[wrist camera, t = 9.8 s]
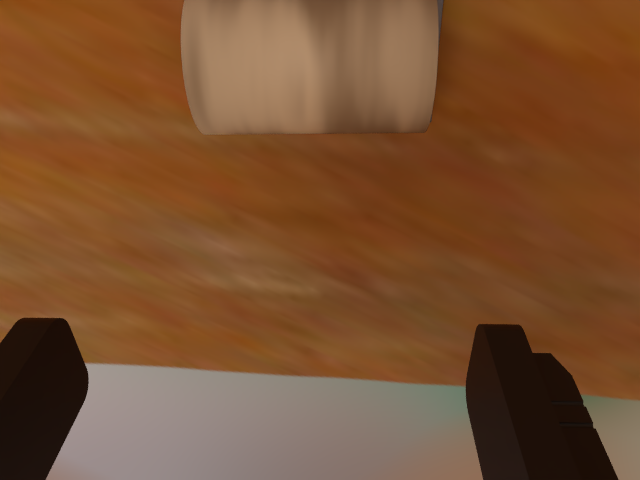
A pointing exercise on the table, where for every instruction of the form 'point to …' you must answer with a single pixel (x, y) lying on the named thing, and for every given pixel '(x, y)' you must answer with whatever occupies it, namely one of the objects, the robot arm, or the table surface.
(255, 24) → the log roller
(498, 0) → the table surface
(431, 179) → the table surface
